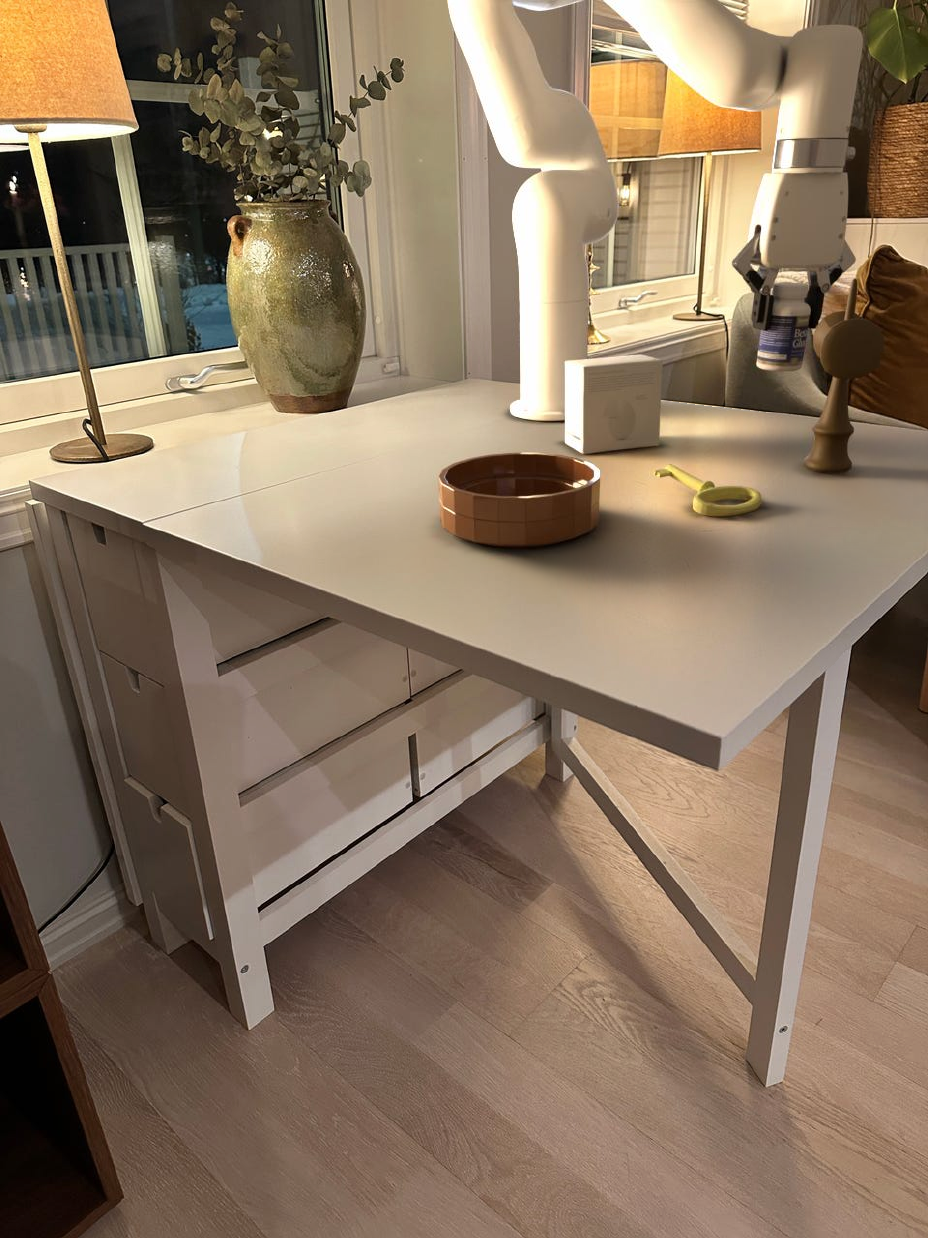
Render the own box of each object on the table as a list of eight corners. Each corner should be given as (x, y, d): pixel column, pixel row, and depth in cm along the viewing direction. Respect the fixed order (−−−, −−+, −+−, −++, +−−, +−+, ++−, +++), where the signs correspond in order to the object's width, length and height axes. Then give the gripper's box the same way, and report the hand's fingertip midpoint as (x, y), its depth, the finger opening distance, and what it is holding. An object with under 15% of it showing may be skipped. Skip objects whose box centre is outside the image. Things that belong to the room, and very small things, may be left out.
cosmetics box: (637, 434, 116) (642, 351, 111) (660, 446, 110) (665, 359, 105) (562, 442, 113) (563, 358, 109) (581, 454, 108) (583, 366, 103)
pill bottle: (796, 373, 105) (809, 286, 101) (750, 369, 108) (761, 284, 104) (806, 366, 110) (819, 282, 105) (762, 362, 112) (773, 280, 108)
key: (666, 481, 97) (667, 462, 96) (769, 504, 88) (772, 484, 87) (626, 496, 92) (627, 476, 91) (730, 523, 84) (732, 501, 83)
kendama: (803, 481, 95) (829, 282, 86) (794, 457, 103) (817, 274, 95) (863, 483, 93) (896, 282, 85) (849, 459, 102) (878, 273, 93)
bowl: (431, 506, 92) (428, 459, 89) (572, 494, 94) (573, 447, 92) (455, 558, 78) (453, 504, 76) (620, 542, 80) (622, 489, 78)
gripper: (859, 158, 103) (832, 321, 111) (722, 160, 101) (704, 326, 109) (899, 157, 97) (867, 329, 105) (752, 158, 94) (731, 335, 102)
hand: (784, 326), depth 107 cm, fingers closed on pill bottle, 5 cm apart
